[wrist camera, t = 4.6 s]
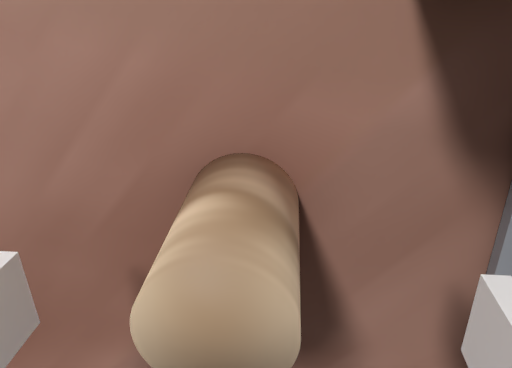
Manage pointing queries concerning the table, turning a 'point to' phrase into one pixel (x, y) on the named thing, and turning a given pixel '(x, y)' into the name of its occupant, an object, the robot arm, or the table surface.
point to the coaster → (503, 243)
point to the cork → (226, 273)
